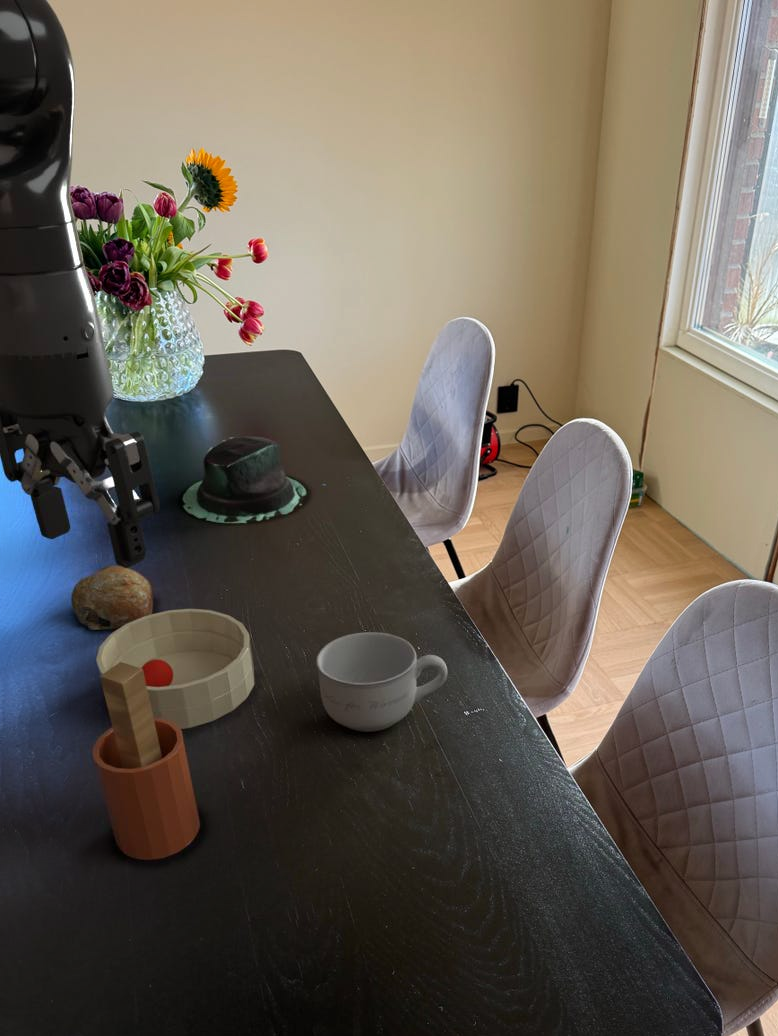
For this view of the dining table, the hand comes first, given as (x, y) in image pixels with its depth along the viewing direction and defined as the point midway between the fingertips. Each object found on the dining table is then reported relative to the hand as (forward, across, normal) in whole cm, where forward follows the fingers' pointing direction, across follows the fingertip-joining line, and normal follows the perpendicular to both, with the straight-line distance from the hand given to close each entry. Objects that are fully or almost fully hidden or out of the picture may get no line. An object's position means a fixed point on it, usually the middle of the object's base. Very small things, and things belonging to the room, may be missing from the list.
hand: (93, 548), depth 69 cm
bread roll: (+29, -33, +24) cm, 50 cm away
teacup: (+29, +9, +24) cm, 39 cm away
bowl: (+29, -13, +16) cm, 35 cm away
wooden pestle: (+28, +2, -2) cm, 28 cm away
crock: (+29, +2, -2) cm, 29 cm away
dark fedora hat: (+29, -44, +60) cm, 80 cm away
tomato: (+26, -15, +14) cm, 34 cm away
